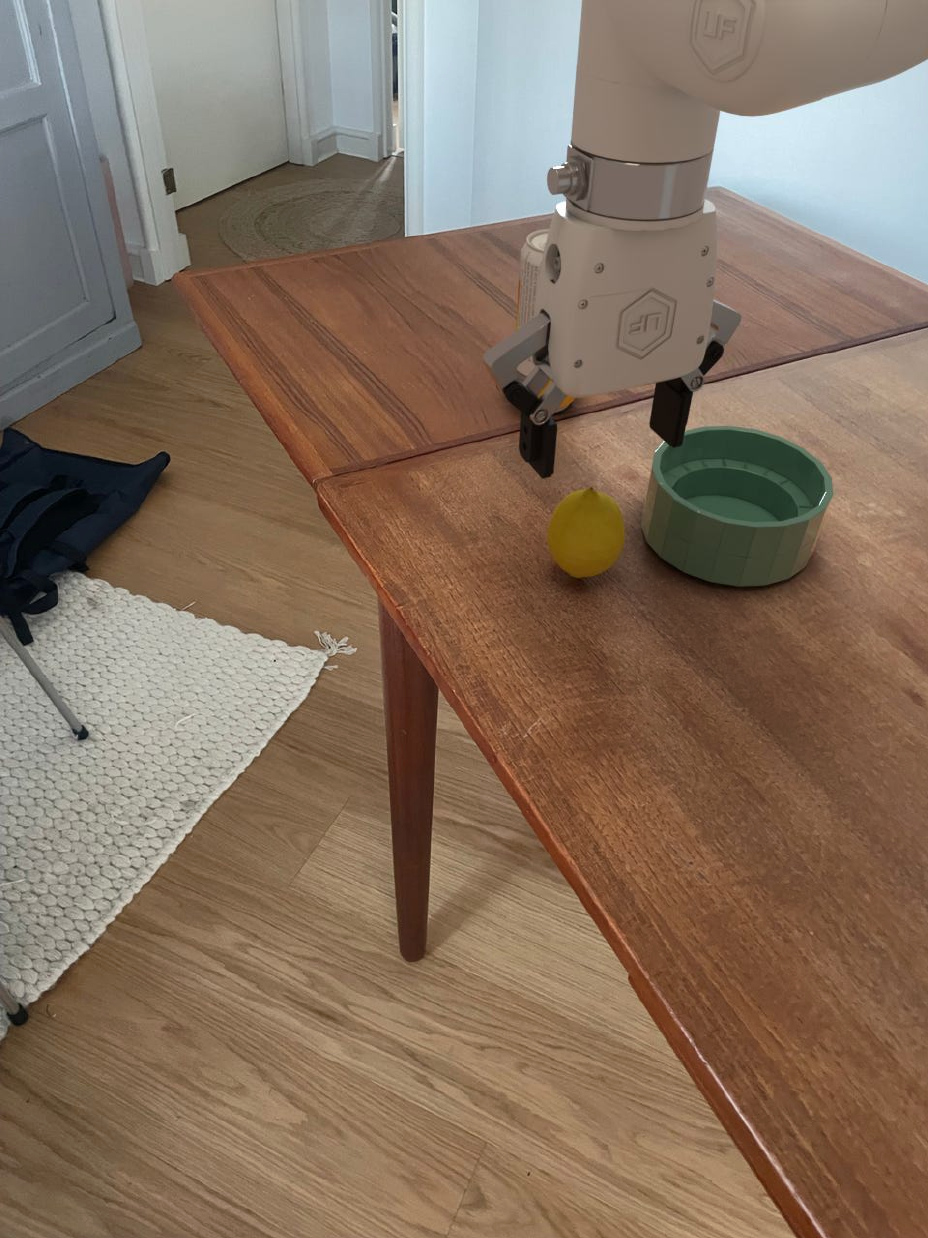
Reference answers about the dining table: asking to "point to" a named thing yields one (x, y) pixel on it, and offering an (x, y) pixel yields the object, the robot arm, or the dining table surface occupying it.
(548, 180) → the robot arm
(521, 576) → the dining table surface
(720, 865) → the dining table surface
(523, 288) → the beer can
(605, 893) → the dining table surface
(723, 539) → the green pet bowl
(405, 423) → the dining table surface
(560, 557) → the fruit
